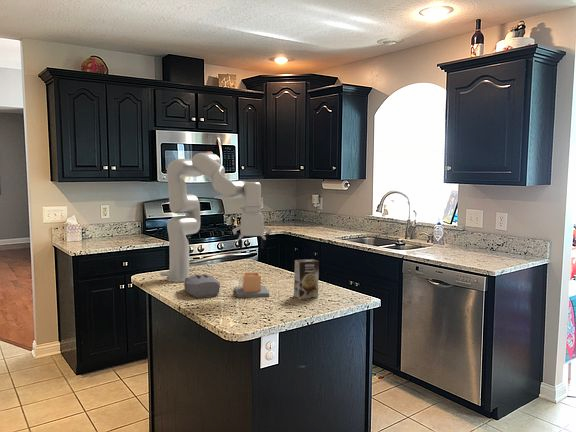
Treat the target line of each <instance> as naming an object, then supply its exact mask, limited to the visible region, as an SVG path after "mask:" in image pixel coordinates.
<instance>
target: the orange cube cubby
mask: <svg viewBox="0 0 576 432" xmlns="http://www.w3.org/2000/svg"><path fill="white" fill-rule="evenodd" d="M261 277H262V276H261V274H260V272H242V286H243V291H244V292H261V286H262V278H261Z"/></svg>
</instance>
